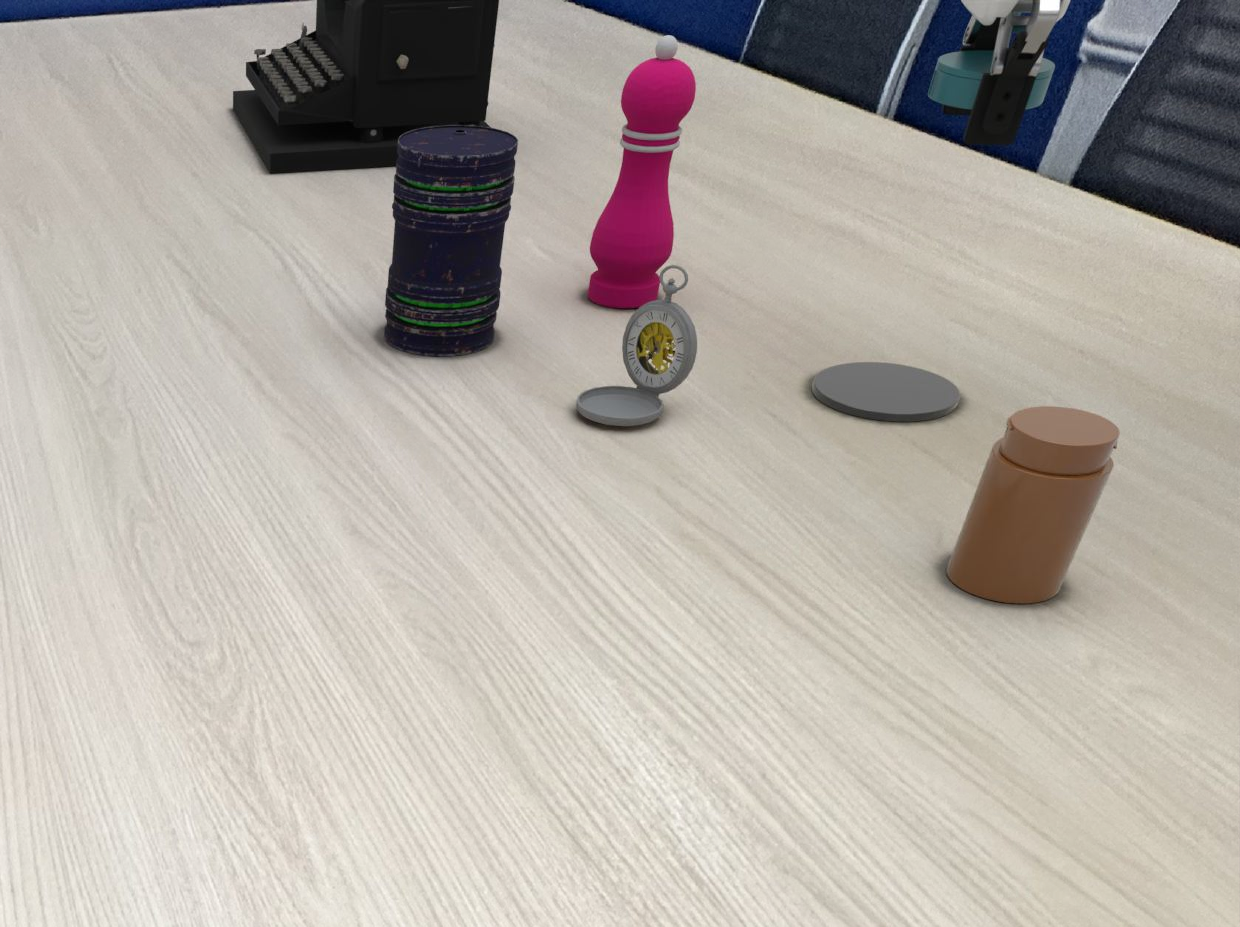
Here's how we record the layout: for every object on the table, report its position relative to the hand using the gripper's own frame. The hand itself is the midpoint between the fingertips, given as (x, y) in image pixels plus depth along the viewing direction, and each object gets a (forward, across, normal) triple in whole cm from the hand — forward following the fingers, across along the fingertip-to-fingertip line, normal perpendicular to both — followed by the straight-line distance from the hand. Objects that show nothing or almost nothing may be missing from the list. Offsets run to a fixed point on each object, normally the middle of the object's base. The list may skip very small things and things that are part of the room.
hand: (976, 126), depth 100 cm
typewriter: (+19, -80, -50) cm, 96 cm away
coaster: (+19, -2, 0) cm, 19 cm away
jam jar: (+19, +29, +3) cm, 35 cm away
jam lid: (-3, 0, 0) cm, 3 cm away
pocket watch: (+19, +4, -20) cm, 28 cm away
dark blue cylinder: (+19, -11, -36) cm, 42 cm away
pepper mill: (+19, -23, -20) cm, 36 cm away
